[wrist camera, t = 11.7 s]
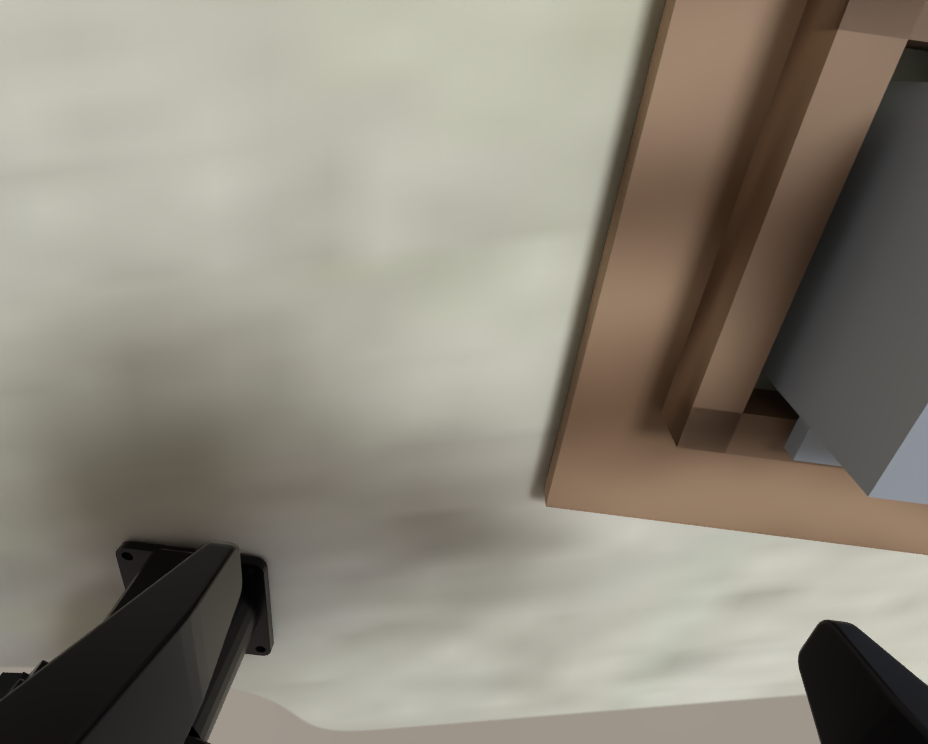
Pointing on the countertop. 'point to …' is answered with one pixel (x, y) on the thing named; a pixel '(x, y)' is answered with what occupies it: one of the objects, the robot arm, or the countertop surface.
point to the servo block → (867, 315)
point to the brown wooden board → (729, 271)
